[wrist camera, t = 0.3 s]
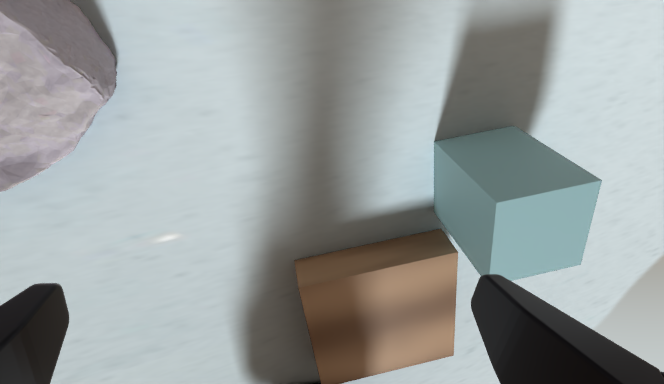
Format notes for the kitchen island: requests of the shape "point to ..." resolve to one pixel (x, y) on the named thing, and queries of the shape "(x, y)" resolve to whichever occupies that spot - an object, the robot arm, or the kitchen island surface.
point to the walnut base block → (380, 305)
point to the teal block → (513, 202)
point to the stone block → (47, 84)
